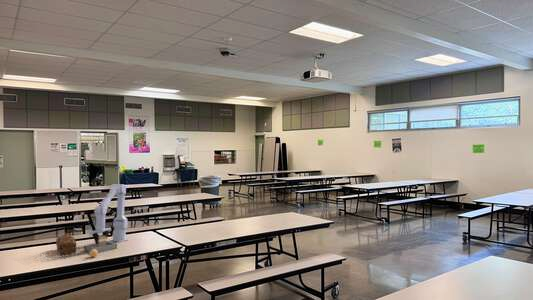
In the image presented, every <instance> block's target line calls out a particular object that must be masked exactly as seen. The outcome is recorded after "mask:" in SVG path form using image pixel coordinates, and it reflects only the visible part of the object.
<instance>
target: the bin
mask: <svg viewBox="0 0 533 300" xmlns="http://www.w3.org/2000/svg"><path fill="white" fill-rule="evenodd" d="M117 243H118V242H114V241H109V240H106V246H103V247H96V243H90V244H85V245H84V246H83V251H84V252H88V253H90V251H91V250H92V249H96V250H97V251H98V254H99V253H104V252H109V251H113V250H116V249H117V248H118V244H117Z"/></svg>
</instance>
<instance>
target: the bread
mask: <svg viewBox="0 0 533 300" xmlns="http://www.w3.org/2000/svg"><path fill="white" fill-rule="evenodd" d="M55 241H56V242H55V243H56V250H57V253H58V254H59V256H66V255H69V254H70V255H72V254H76V253H77V241H76V238H75V237H74V236H72V235H67V234H63V235H60V236H58V237H56V240H55Z"/></svg>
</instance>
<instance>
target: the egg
mask: <svg viewBox="0 0 533 300" xmlns="http://www.w3.org/2000/svg"><path fill="white" fill-rule="evenodd" d="M88 253H89V256H90V257H91V258H96V257H97V256H98V254H99V253H98V251H97V250H96V249H92V250H91V251H90V252H88Z"/></svg>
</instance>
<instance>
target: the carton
mask: <svg viewBox="0 0 533 300" xmlns="http://www.w3.org/2000/svg"><path fill="white" fill-rule="evenodd" d="M106 241H107V239H106V236H105V235H103V234H99V237H98V244H96V247H103V246H106Z"/></svg>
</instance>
